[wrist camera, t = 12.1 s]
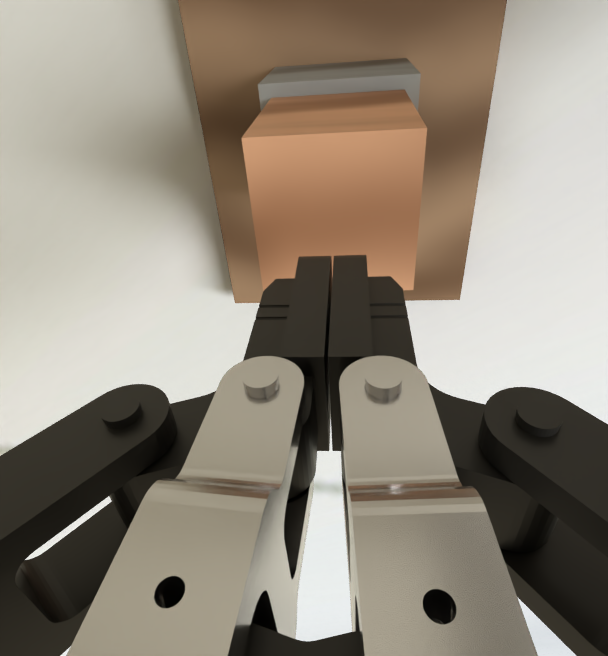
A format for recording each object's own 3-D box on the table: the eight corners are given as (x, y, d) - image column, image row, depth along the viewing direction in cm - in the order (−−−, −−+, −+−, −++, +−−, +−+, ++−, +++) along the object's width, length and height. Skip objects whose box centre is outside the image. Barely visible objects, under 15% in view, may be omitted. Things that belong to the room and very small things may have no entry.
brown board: (165, -127, 19) (93, -174, 13) (522, -169, 17) (598, -240, 12) (239, 290, 30) (216, 352, 25) (455, 286, 29) (478, 351, 24)
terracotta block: (271, 97, 17) (241, 138, 12) (404, 89, 17) (427, 128, 12) (283, 221, 20) (263, 292, 15) (397, 217, 20) (413, 290, 15)
